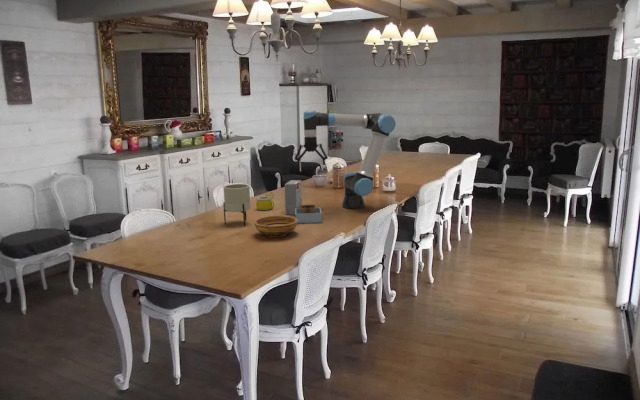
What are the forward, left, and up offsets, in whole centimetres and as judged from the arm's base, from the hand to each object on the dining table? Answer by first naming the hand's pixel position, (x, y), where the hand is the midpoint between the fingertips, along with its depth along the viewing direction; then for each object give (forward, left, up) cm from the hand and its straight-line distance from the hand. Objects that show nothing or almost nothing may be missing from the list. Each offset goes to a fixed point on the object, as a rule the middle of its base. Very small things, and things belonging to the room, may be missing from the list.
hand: (311, 170), depth 332 cm
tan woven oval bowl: (+21, +40, -29) cm, 54 cm away
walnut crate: (+3, +11, -28) cm, 30 cm away
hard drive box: (+12, -12, -29) cm, 34 cm away
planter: (+45, +13, -29) cm, 55 cm away
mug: (+31, -23, -29) cm, 48 cm away
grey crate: (+3, +11, -29) cm, 31 cm away
